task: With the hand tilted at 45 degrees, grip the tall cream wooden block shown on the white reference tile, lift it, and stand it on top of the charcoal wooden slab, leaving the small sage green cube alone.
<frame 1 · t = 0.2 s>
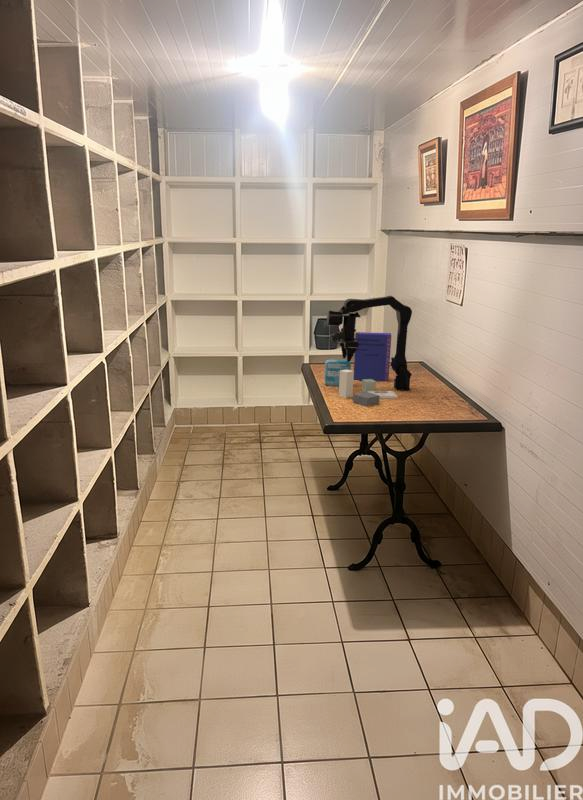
hand: (346, 359, 283), 14 cm above the table, tool pointing down, fingers open, 9 cm apart
cream block: (345, 396, 273), on the table
cereal box: (370, 380, 307), on the table
sage cube: (368, 390, 285), on the table
reference tile: (381, 395, 276), on the table
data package: (337, 385, 296), on the table
charcoal slab: (366, 403, 264), on the table
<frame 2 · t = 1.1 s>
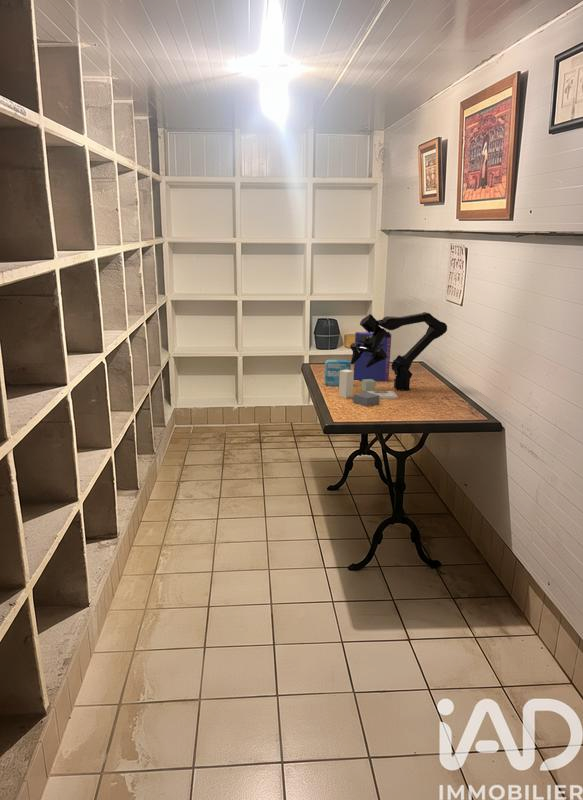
hand: (358, 365, 275), 13 cm above the table, tool tilted 45°, fingers open, 9 cm apart
nothing on the table moved.
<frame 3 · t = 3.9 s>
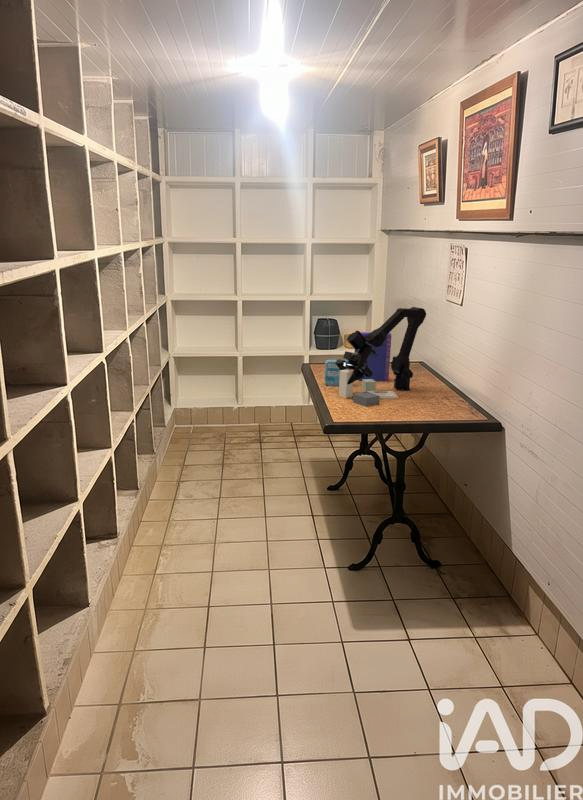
hand: (344, 382, 271), 7 cm above the table, tool tilted 45°, fingers closed on cream block, 4 cm apart
cream block: (345, 396, 273), on the table, touching gripper
everything else where it was.
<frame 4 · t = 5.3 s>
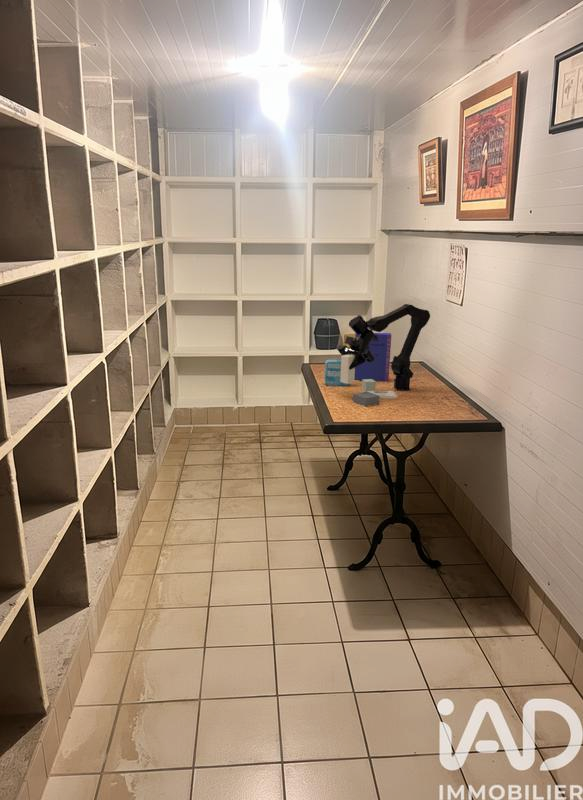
hand: (345, 368, 269), 13 cm above the table, tool tilted 45°, fingers closed on cream block, 4 cm apart
cream block: (347, 382, 271), point 7 cm above the table, touching gripper
everything else where it was.
when the fingers open (12 cm above the table, at t = 7.0 s): cream block drops 2 cm, point 4 cm above the table.
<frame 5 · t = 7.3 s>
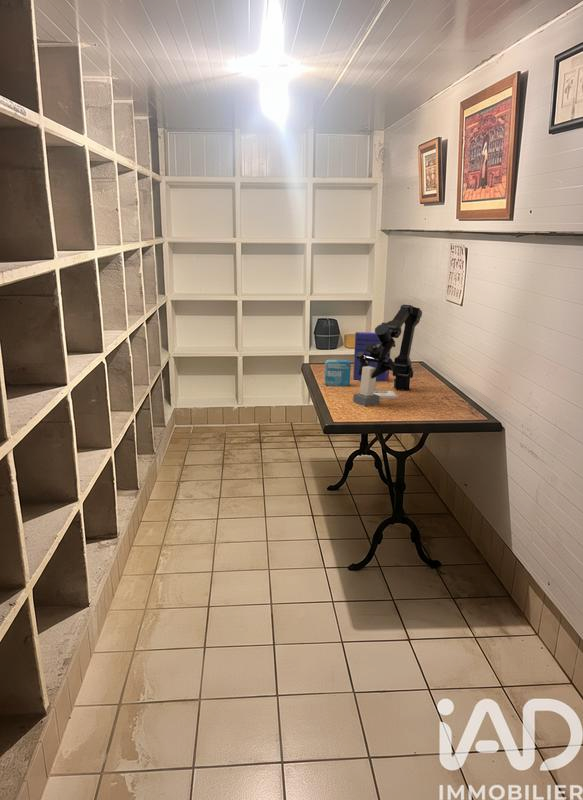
hand: (365, 376, 260), 12 cm above the table, tool tilted 45°, fingers open, 7 cm apart
cream block: (366, 394, 263), point 4 cm above the table
everything else where it was.
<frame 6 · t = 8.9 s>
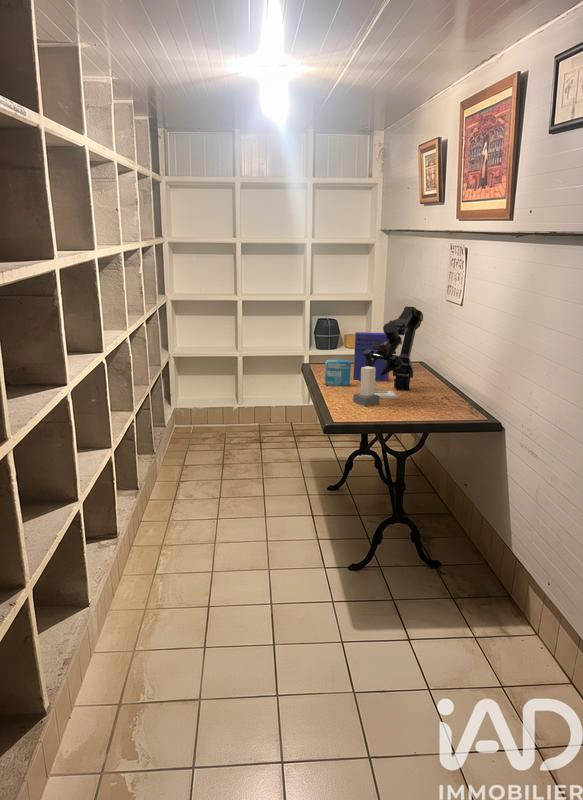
hand: (372, 373, 263), 13 cm above the table, tool tilted 45°, fingers open, 9 cm apart
cream block: (367, 394, 263), point 4 cm above the table, touching charcoal slab
charcoal slab: (366, 403, 264), on the table, touching cream block
everything else where it was.
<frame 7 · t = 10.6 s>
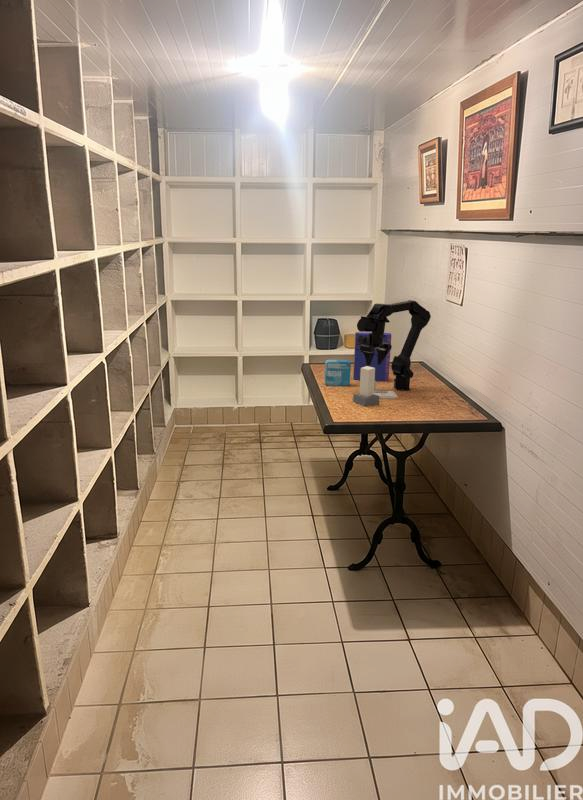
hand: (373, 365, 278), 13 cm above the table, tool pointing down, fingers open, 9 cm apart
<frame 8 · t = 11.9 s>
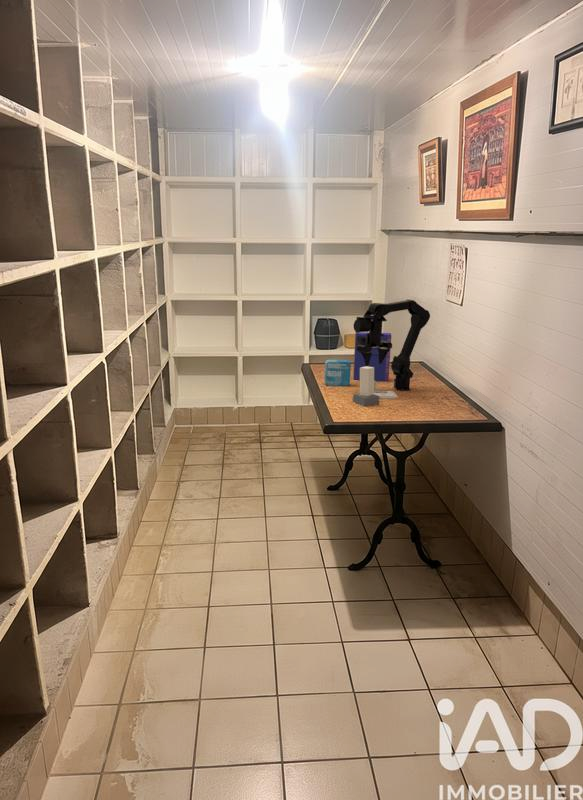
hand: (373, 364, 279), 13 cm above the table, tool pointing down, fingers open, 9 cm apart
at the end: cream block 0.4 cm off-centre on the charcoal slab, point 4.1 cm above the charcoal slab's base; cream block tilted 3°; the gripper is holding nothing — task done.
